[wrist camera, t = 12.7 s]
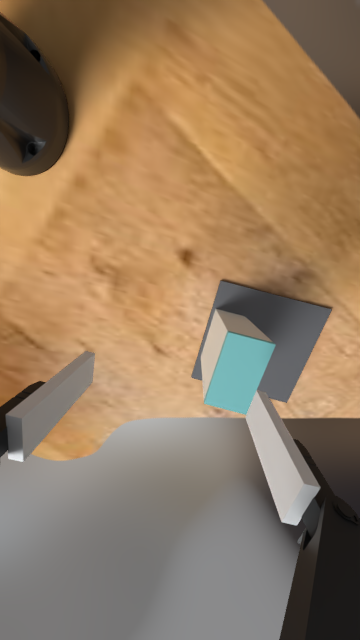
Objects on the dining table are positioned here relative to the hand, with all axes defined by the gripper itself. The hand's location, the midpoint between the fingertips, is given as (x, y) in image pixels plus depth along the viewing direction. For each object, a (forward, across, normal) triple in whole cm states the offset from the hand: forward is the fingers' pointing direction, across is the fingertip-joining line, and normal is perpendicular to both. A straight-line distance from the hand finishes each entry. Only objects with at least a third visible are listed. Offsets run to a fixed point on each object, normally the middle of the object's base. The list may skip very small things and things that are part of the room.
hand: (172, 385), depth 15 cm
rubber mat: (+18, +13, -1) cm, 22 cm away
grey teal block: (+17, +7, -1) cm, 19 cm away
